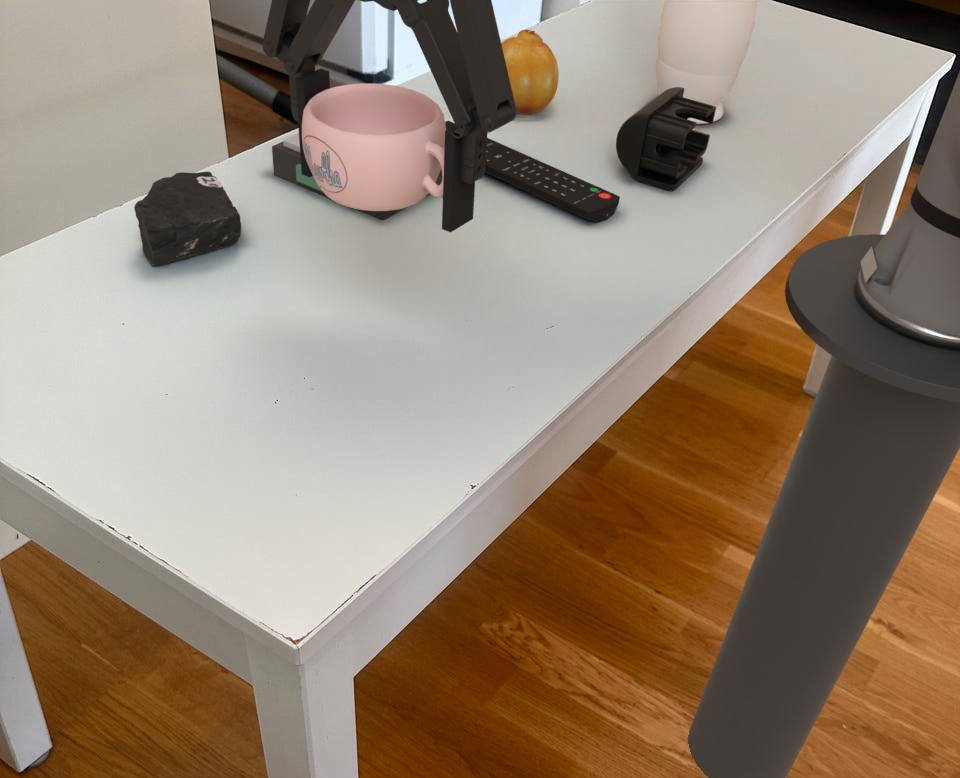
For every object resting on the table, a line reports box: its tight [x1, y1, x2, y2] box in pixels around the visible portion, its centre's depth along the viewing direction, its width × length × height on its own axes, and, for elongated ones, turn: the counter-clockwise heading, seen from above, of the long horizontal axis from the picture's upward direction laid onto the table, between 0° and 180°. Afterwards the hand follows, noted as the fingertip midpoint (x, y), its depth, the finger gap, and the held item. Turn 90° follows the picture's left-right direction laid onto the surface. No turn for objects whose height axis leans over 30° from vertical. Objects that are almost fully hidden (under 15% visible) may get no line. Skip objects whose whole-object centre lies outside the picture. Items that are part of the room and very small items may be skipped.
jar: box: [656, 0, 758, 125], centre depth 116 cm, size 11×10×15 cm
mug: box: [302, 82, 446, 211], centre depth 71 cm, size 12×10×6 cm
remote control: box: [445, 120, 621, 223], centre depth 105 cm, size 5×24×1 cm, turn 48°
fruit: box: [501, 29, 559, 115], centre depth 116 cm, size 8×8×8 cm
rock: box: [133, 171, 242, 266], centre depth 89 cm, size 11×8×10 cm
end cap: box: [615, 87, 716, 192], centre depth 107 cm, size 10×7×7 cm
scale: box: [271, 132, 442, 221], centre depth 102 cm, size 14×14×3 cm
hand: (385, 196), depth 73 cm, fingers closed on mug, 12 cm apart
